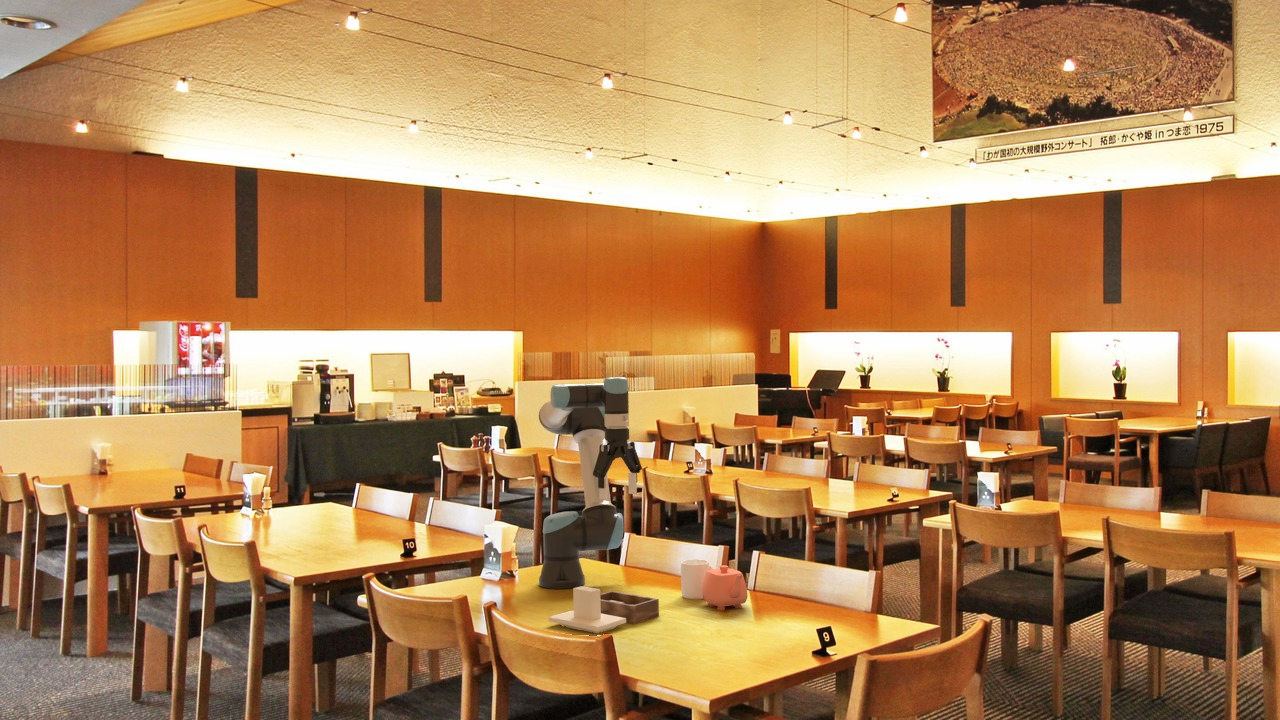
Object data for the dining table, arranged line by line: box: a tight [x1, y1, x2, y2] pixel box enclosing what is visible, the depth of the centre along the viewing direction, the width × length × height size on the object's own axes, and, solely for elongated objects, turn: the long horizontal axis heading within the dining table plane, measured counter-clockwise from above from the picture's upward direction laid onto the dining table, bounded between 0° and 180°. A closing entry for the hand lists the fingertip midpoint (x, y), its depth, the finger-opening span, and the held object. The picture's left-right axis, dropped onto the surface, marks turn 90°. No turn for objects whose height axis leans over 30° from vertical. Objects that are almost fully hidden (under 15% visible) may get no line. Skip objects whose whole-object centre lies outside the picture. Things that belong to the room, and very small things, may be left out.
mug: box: [680, 558, 714, 600], centre depth 331 cm, size 9×12×11 cm
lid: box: [548, 585, 627, 634], centre depth 296 cm, size 19×12×11 cm, turn 50°
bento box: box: [600, 590, 660, 625], centre depth 307 cm, size 18×11×5 cm, turn 50°
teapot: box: [702, 564, 748, 612], centre depth 316 cm, size 20×12×12 cm, turn 25°
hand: (618, 496), depth 328 cm, fingers open, 13 cm apart
